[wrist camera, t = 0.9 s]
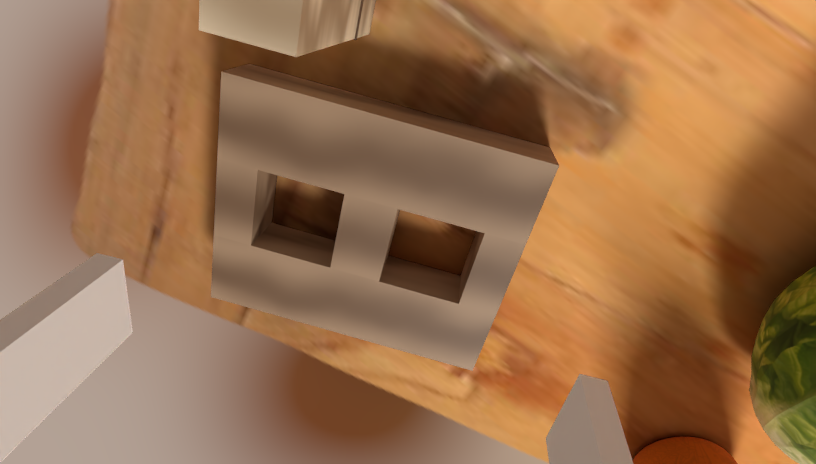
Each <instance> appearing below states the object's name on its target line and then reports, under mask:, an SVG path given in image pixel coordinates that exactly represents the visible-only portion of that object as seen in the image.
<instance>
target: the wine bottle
mask: <svg viewBox="0 0 816 464" xmlns="http://www.w3.org/2000/svg"><path fill="white" fill-rule="evenodd" d="M633 464H737V462H736V461H735V460H734V458H733V457H732V456H731V455H730V454H729V453H728V452H727V451H726V450H725V449H723V448H722V447H720V446H719V445H717V444H715V443H713V442H711V441H708V440H705V439H701V438H696V437H673V438H667V439H663V440H660V441H657V442H654V443H652V444H650V445H648V446H647V447H645V448H643V449H642V450H641V451H640V452H639V453H638V454H637V455H636V456H635V457H634V459H633Z"/></svg>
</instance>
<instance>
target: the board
mask: <svg viewBox="0 0 816 464" xmlns="http://www.w3.org/2000/svg"><path fill="white" fill-rule="evenodd" d="M558 167H559V164H558V162H557V160H556V158H555V156H554V154H553V152H552V150H551V148H550V147H547V146H543V145H539V144H536V143H532V142H529V141H525V140H522V139H518V138H514V137H511V136H507V135H504V134H500V133H496V132H493V131H489V130H486V129H482V128H478V127H475V126H471V125H468V124H464V123H460V122H457V121H453V120H450V119H446V118H442V117H439V116H435V115H432V114H428V113H425V112H421V111H417V110H414V109H410V108H407V107H403V106H399V105H396V104H392V103H389V102H385V101H381V100H378V99H374V98H371V97H367V96H363V95H360V94H356V93H353V92H349V91H346V90H342V89H338V88H335V87H331V86H328V85H324V84H320V83H317V82H313V81H310V80H306V79H302V78H299V77H295V76H292V75H288V74H284V73H281V72H277V71H274V70H270V69H266V68H263V67H259V66H256V65H252V64H246V65H243V66H239V67H235V68H232V69H228V70H225V71H221V88H220V110H219V132H218V154H217V176H216V198H215V219H214V241H213V263H212V285H211V297H213V298H217V299H220V300H224V301H227V302H231V303H234V304H238V305H241V306H245V307H248V308H252V309H256V310H259V311H263V312H266V313H270V314H273V315H277V316H280V317H284V318H287V319H291V320H295V321H298V322H302V323H305V324H309V325H312V326H316V327H319V328H323V329H326V330H330V331H334V332H337V333H341V334H344V335H348V336H351V337H355V338H358V339H362V340H365V341H369V342H372V343H376V344H380V345H383V346H387V347H390V348H394V349H397V350H401V351H404V352H408V353H411V354H415V355H419V356H422V357H426V358H429V359H433V360H436V361H440V362H443V363H447V364H450V365H454V366H457V367H461V368H465V369H468V370H472V371H473V368H474V366H475V363H476V361H477V359H478V356H479V354H480V352H481V349H482V347H483V345H484V342H485V340H486V337H487V335H488V333H489V330H490V328H491V326H492V323H493V321H494V318H495V316H496V314H497V311H498V309H499V307H500V304H501V302H502V300H503V297H504V295H505V292H506V290H507V288H508V285H509V283H510V281H511V278H512V276H513V274H514V271H515V269H516V266H517V264H518V262H519V259H520V257H521V255H522V252H523V250H524V247H525V245H526V243H527V240H528V238H529V236H530V233H531V231H532V229H533V226H534V224H535V221H536V219H537V217H538V214H539V212H540V210H541V207H542V205H543V203H544V200H545V198H546V195H547V193H548V191H549V188H550V186H551V184H552V181H553V179H554V176H555V174H556V172H557V169H558ZM277 175H278V176H281V177H285V178H289V179H292V180H296V181H299V182H303V183H306V184H310V185H314V186H317V187H321V188H324V189H328V190H331V191H335V192H339V193H342V194H344V199H343V204H342V209H341V215H340V220H339V225H338V230H337V235H336V241H335V240H332V239H328V238H325V237H321V236H318V235H314V234H310V233H307V232H303V231H300V230H296V229H293V228H289V227H286V226H282V225H278V224H275V223H272V217H273V208H274V199H275V190H276V182H277ZM400 210H403V211H406V212H410V213H414V214H417V215H421V216H424V217H428V218H431V219H435V220H439V221H442V222H446V223H449V224H453V225H456V226H460V227H464V228H467V229H471V230H474V231H476V233H475V236H474V239H473V242H472V245H471V247H470V250H469V253H468V256H467V259H466V261H465V264H464V267H463V270H462V273H461V275H456V274H453V273H449V272H446V271H442V270H439V269H435V268H432V267H428V266H424V265H421V264H417V263H414V262H410V261H407V260H403V259H399V258H396V257H392V256H389V255H388V254H389V250H390V246H391V242H392V239H393V235H394V231H395V227H396V223H397V219H398V215H399V212H400Z"/></svg>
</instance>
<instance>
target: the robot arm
mask: <svg viewBox="0 0 816 464" xmlns="http://www.w3.org/2000/svg"><path fill="white" fill-rule="evenodd" d="M132 333H133V330H132V323H131V316H130V308H129V301H128V294H127V287H126V279H125V272H124V264H123V259H119V258H115V257H111V256H107V255H103V254H99V253H97V254H95V255H94V256H92V257H91V258H89V259H88V260H87V261H85V262H84V263H82V264H81V265H79V266H78V267H77V268H75V269H73V270H72V271H71V272H69V273H68V274H66V275H65V276H63V277H62V278H60V279H59V280H57V281H56V282H55V283H53V284H52V285H50V286H49V287H47V288H46V289H44V290H43V291H41V292H40V293H39V294H37V295H36V296H34V297H33V298H31V299H30V300H28V301H27V302H25V303H24V304H23V305H21V306H20V307H18V308H17V309H15V310H14V311H12V312H11V313H10V314H8V315H7V316H5V317H4V318H2V319H1V320H0V463H1V461H3V459H5V457H7V456H8V455H9V453H11V452H12V451H13V450H14V449H15V448H16V447H17V446H18V445H19V443H21V442H22V441H23V440H24V439H25V438H26V437H27V436H28V435H29V434H30V433H31V432H32V431H33V430H34V429H35V428H36V427H37V426H38V425H39V424H40V423H41V422H42V421H43V420H44V419H45V418H46V417H47V416H48V415H49V414H50V413H51V412H52V411H53V410H54V409H55V408H56V407H57V406H58V405H59V404H60V403H61V402H63V400H65V399H66V397H68V396H69V395H70V394H71V393H72V392H73V391H74V390H75V389H76V388H77V387H78V386H79V385H80V384H81V383H82V382H83V381H84V380H85V379H86V378H87V377H88V376H89V375H90V374H91V373H92V372H93V371H94V370H95V369H96V368H97V367H98V366H99V365H100V364H101V363H102V362H103V361H104V360H105V359H106V358H107V357H108V356H109V355H110V354H111V353H112V352H113V351H114V350H115V349H116V348H117V347H118V346H119V345H120V344H121V343H123V341H125V340H126V339H127V337H129V336H130V335H131V334H132ZM546 442H547V450H548V457H549V464H633V460H632V457H631V454H630V451H629V448H628V445H627V441H626V438H625V435H624V432H623V429H622V425H621V422H620V419H619V416H618V413H617V409H616V406H615V403H614V400H613V397H612V394H611V390H610V387H609V384H608V381H606V380H602V379H598V378H594V377H590V376H586V375H582V374H579V376H578V378H577V380H576V382H575V384H574V386H573V388H572V390H571V391H570V393H569V395H568V397H567V399H566V401H565V403H564V405H563V407H562V409H561V410H560V412H559V414H558V416H557V418H556V420H555V422H554V424H553V426H552V427H551V429H550V431H549V433H548V435H547V437H546Z"/></svg>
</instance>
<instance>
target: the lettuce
mask: <svg viewBox="0 0 816 464" xmlns="http://www.w3.org/2000/svg"><path fill="white" fill-rule="evenodd" d="M749 391H750V396H751V400H752V404H753V408H754V411H755V414H756V416H757V418H758V420H759V422H760V424H761V426H762V428H763V430H764V431H765V432H766V433H767V435H768V436H769V437H770V439H771V440H772V441H773V442H774V444H775V445H776V446H777V447H778V448H779V449H781V450H782V451H783V452H784V453H785V454H786V455H787V456H788V457H790V458H791V459H793V460H794V461H796V462H797V463H799V464H816V266H814V267H813V268H811V269H810V270H809V271H807V272H806V273H804V274H803V275H802V276H800V277H799V278H797V279H796V280H794V281H793V282H792V283H791V284H790V285H789V286H788V287H787V288H786V289H785V290H784V291H783V292H782V293H781V294H780V295H779V296H778V297H777V298H776V299H775V300H774V301H773V303H772V305H771V306H770V308H769V310H768V311H767V313H766V315H765V316H764V318H763V320H762V323H761V326H760V329H759V331H758V334H757V337H756V340H755V344H754V348H753V352H752V366H751V380H750V388H749Z"/></svg>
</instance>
